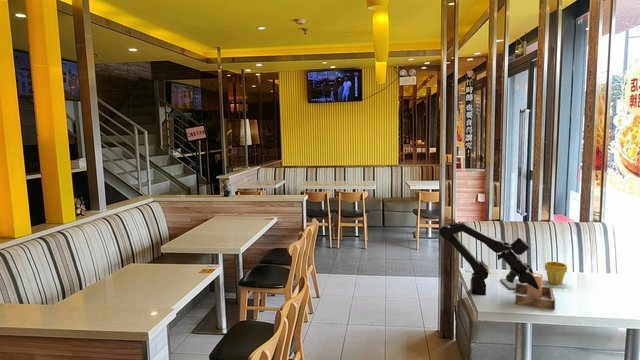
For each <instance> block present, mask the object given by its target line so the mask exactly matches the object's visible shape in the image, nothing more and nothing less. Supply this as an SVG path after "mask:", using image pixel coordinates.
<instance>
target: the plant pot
mask: <svg viewBox="0 0 640 360" xmlns="http://www.w3.org/2000/svg"><path fill="white" fill-rule="evenodd" d="M544 269H545V272H546V277H547V281H548V282H549V284H550V283H551V284H555V285H561V284H562V283H563V281H564V279H565V278H564V277H565V275H566V273H567V272H568V265H567V264H566V263H564V262H559V261H545V263H544Z"/></svg>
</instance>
